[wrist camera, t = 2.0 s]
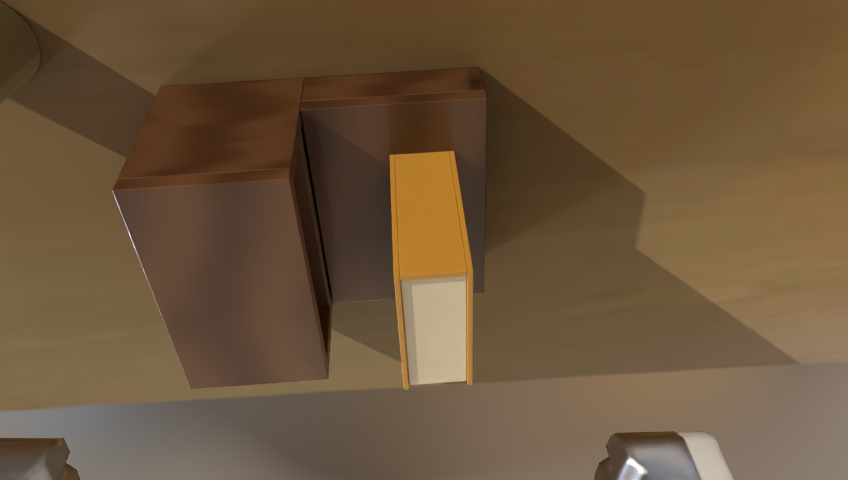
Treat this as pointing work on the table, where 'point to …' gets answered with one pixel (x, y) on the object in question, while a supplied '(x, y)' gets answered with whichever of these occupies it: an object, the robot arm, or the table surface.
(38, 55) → the tan pawn game piece
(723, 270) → the table surface
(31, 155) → the table surface
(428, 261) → the book
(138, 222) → the wooden l-shaped block
